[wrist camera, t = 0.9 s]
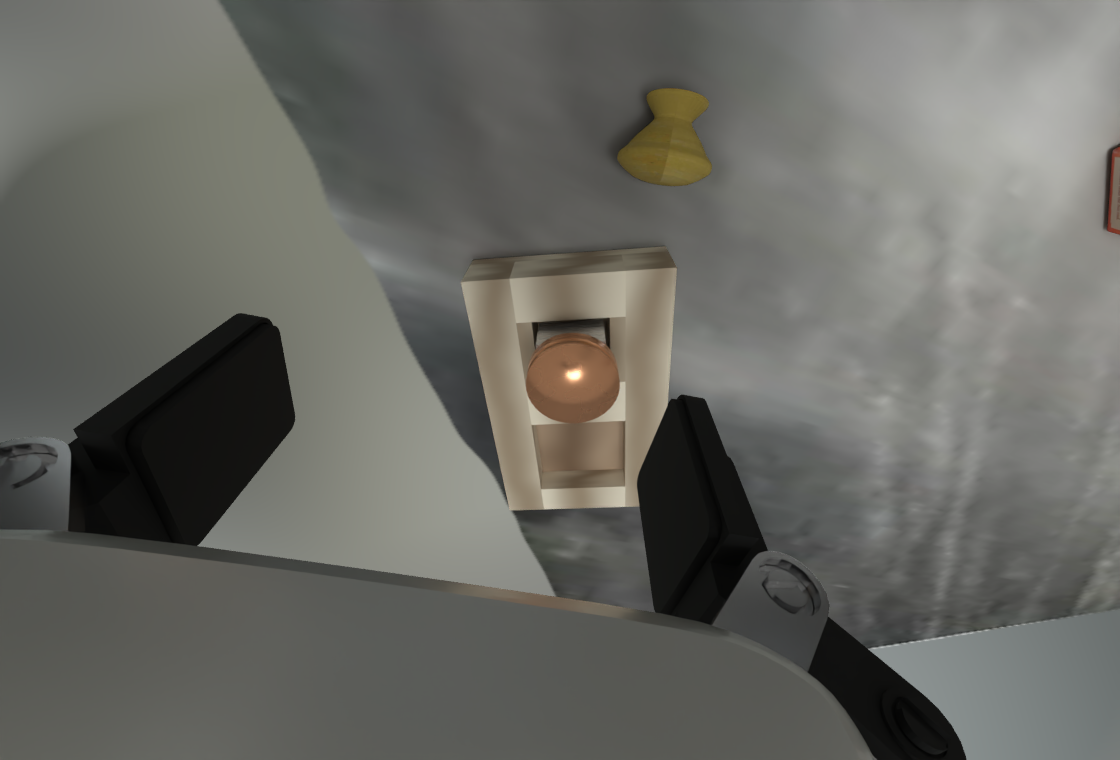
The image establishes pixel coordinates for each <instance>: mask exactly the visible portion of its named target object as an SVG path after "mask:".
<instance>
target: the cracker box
mask: <svg viewBox="0 0 1120 760" xmlns="http://www.w3.org/2000/svg"><path fill="white" fill-rule="evenodd" d="M1107 230H1108V231H1109V232H1112V233H1116V234H1119V235H1120V147H1118V148H1116V149H1114V150H1113V152H1112V164H1111V179H1110V196H1109V213H1108V226H1107Z"/></svg>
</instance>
